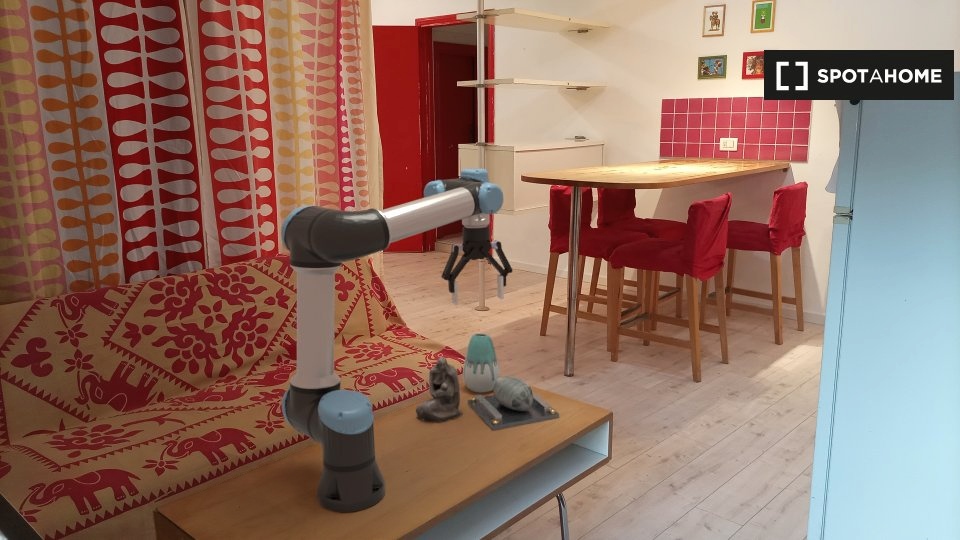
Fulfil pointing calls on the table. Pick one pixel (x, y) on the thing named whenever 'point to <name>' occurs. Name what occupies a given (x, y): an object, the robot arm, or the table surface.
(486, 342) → the vase
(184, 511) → the table surface
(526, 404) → the grey rock
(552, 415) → the carrier
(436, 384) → the figurine
